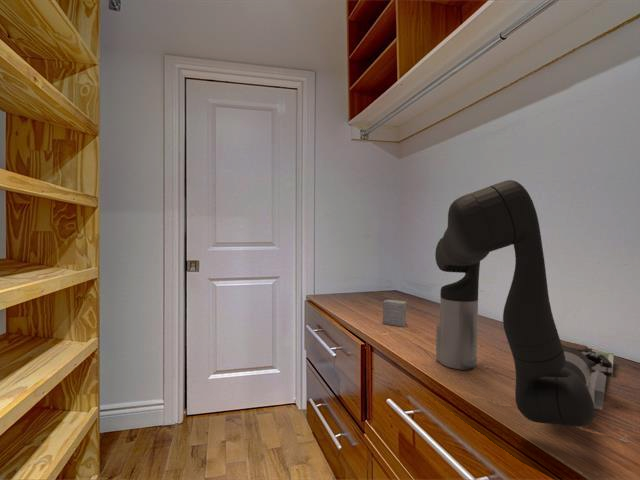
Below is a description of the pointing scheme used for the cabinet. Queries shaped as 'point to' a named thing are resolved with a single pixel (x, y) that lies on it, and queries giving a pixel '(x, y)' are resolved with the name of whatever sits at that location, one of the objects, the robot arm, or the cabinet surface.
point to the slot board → (597, 388)
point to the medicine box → (394, 312)
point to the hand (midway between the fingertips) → (575, 350)
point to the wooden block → (576, 346)
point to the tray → (607, 355)
